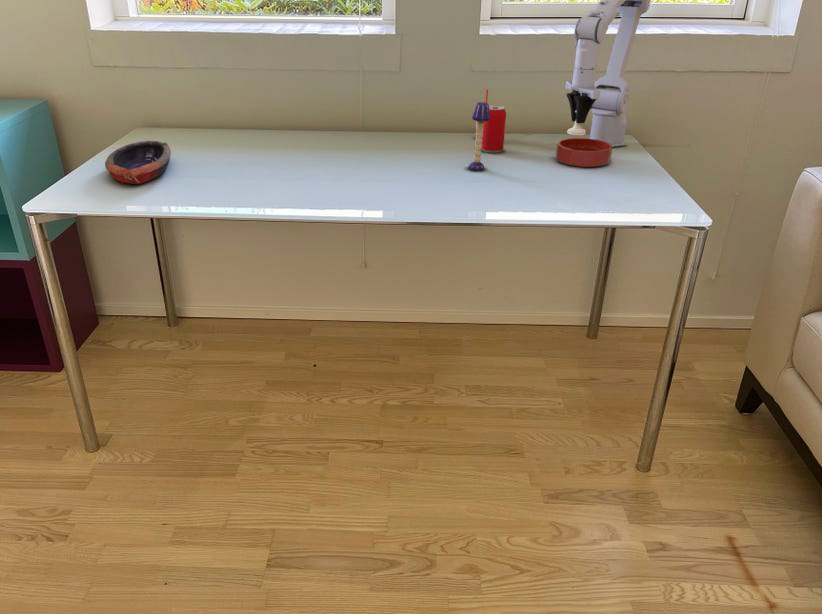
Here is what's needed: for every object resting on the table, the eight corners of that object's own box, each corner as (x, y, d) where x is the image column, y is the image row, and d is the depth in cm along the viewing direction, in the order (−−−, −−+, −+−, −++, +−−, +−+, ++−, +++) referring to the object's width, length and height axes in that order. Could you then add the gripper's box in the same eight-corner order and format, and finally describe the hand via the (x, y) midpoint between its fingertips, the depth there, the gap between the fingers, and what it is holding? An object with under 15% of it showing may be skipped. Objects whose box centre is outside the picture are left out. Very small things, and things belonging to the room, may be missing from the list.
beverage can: (502, 148, 208) (506, 104, 202) (503, 154, 203) (507, 109, 197) (480, 147, 209) (483, 104, 203) (481, 153, 204) (484, 109, 197)
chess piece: (564, 130, 197) (569, 92, 192) (582, 130, 198) (587, 92, 192) (570, 135, 193) (575, 96, 188) (588, 135, 194) (593, 96, 188)
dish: (181, 155, 201) (179, 137, 199) (159, 189, 175) (156, 169, 172) (124, 156, 200) (121, 137, 198) (93, 191, 174) (89, 170, 171)
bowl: (577, 151, 206) (579, 135, 203) (620, 162, 196) (622, 145, 194) (544, 160, 198) (546, 143, 196) (587, 171, 189) (589, 154, 186)
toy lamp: (474, 165, 193) (478, 100, 185) (489, 168, 191) (494, 102, 182) (465, 169, 190) (469, 103, 181) (480, 172, 188) (485, 105, 179)
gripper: (558, 64, 192) (551, 116, 199) (585, 73, 180) (577, 129, 187) (582, 63, 194) (575, 115, 201) (610, 72, 182) (602, 127, 189)
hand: (578, 122), depth 194 cm, fingers closed on chess piece
